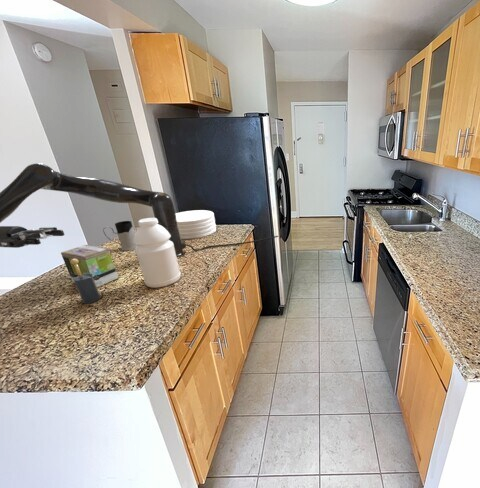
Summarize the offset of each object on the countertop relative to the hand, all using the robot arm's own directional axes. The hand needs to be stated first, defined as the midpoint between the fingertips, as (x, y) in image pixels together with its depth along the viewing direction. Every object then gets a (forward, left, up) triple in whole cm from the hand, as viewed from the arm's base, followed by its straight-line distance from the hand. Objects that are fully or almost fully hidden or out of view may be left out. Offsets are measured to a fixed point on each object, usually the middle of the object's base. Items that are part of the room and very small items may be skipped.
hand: (51, 236), depth 92 cm
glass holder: (-6, -54, -26) cm, 60 cm away
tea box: (-2, -15, -26) cm, 30 cm away
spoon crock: (-5, +3, -26) cm, 27 cm away
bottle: (-29, -2, -26) cm, 39 cm away
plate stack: (-43, -68, -26) cm, 85 cm away
